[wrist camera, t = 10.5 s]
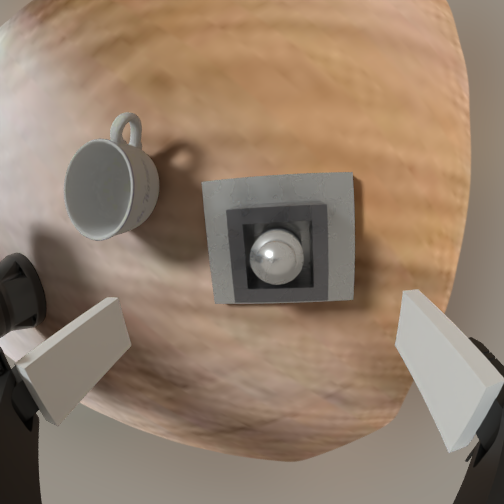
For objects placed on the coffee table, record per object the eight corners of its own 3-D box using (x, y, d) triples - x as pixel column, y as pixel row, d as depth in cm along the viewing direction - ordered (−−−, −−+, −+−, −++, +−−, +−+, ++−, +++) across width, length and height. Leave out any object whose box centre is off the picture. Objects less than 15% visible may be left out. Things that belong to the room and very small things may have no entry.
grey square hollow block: (245, 280, 31) (234, 302, 25) (239, 204, 29) (225, 209, 23) (321, 278, 29) (328, 300, 23) (319, 200, 27) (326, 204, 22)
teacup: (143, 245, 33) (107, 261, 26) (90, 200, 33) (50, 206, 25) (200, 149, 29) (170, 138, 22) (136, 110, 29) (98, 95, 21)
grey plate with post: (218, 298, 33) (192, 337, 24) (205, 182, 30) (170, 181, 21) (350, 294, 31) (369, 335, 22) (349, 172, 28) (374, 167, 18)
